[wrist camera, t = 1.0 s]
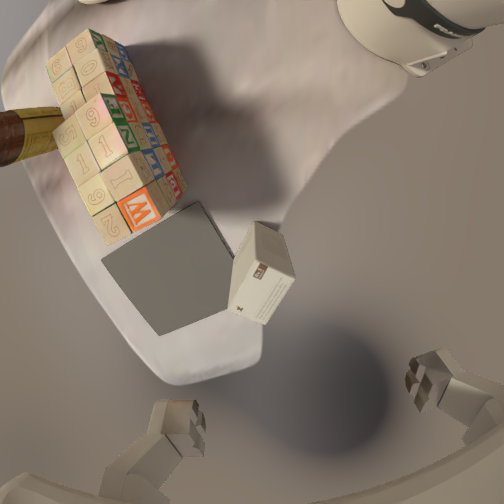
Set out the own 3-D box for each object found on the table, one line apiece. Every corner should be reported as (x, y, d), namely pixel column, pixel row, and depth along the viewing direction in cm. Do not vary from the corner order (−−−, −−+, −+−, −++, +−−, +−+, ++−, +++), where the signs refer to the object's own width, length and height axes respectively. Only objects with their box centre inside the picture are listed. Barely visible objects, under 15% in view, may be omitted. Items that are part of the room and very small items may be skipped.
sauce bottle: (36, 124, 28) (-72, 145, 10) (64, 97, 27) (-50, 100, 9) (51, 160, 31) (-57, 200, 13) (80, 135, 30) (-36, 161, 12)
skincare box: (262, 271, 38) (267, 329, 27) (231, 257, 37) (225, 313, 26) (284, 232, 36) (300, 280, 25) (252, 216, 35) (255, 260, 24)
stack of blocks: (85, 71, 26) (27, 59, 15) (124, 45, 25) (74, 18, 14) (147, 209, 35) (106, 248, 23) (190, 189, 34) (161, 220, 22)
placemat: (198, 200, 34) (198, 201, 34) (255, 294, 40) (255, 296, 39) (101, 259, 37) (100, 260, 37) (159, 334, 43) (159, 336, 42)
